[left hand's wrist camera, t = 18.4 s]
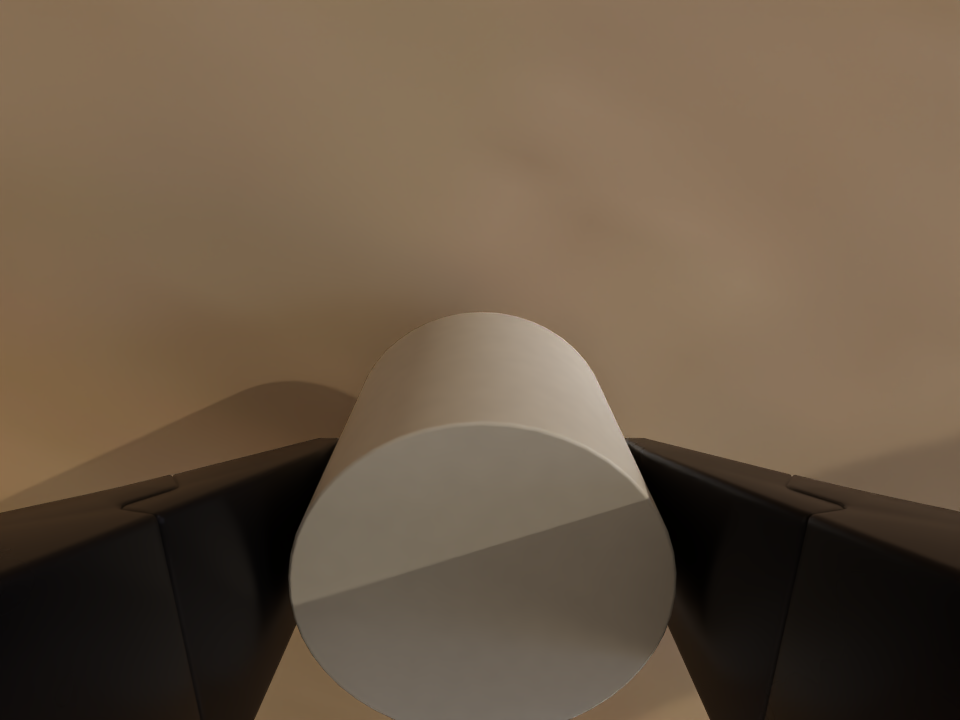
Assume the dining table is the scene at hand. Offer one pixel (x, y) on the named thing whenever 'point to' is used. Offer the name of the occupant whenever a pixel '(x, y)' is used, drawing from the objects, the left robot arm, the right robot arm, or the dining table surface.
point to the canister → (482, 534)
